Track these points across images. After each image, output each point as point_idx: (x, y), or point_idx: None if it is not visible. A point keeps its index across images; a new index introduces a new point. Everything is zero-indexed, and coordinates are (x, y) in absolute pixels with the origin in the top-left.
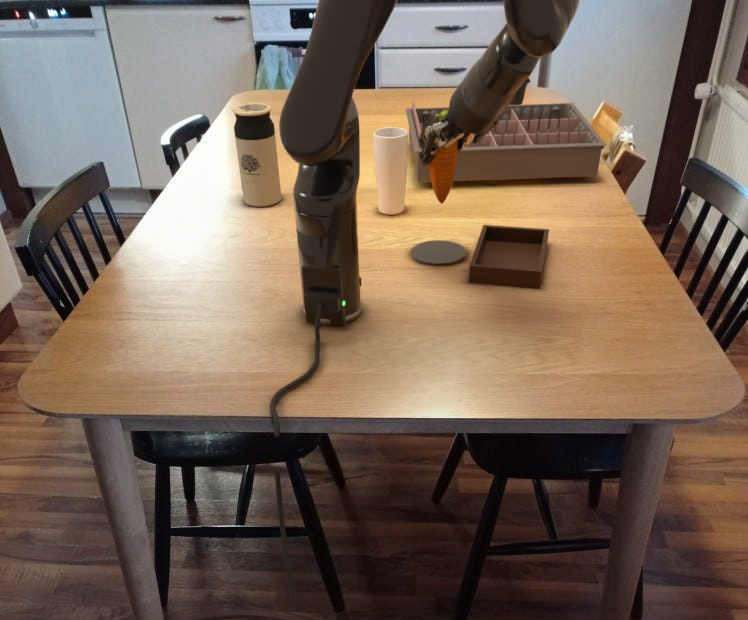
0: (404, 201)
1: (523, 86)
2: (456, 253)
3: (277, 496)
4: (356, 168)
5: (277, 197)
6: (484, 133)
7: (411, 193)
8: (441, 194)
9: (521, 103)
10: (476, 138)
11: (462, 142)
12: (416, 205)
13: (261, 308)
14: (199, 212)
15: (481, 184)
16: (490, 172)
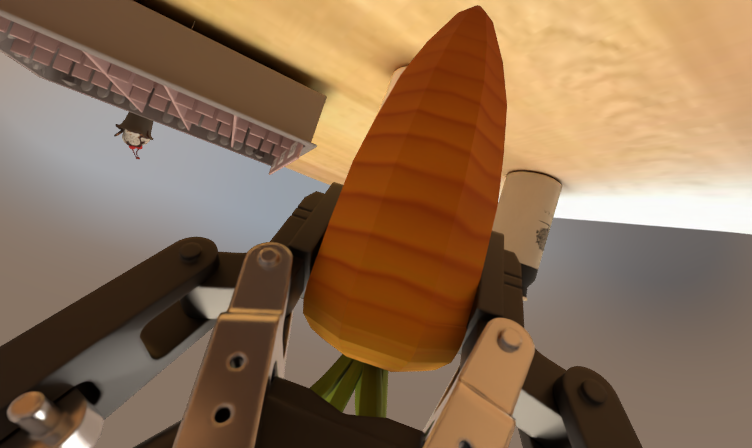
0: (392, 83)
1: (126, 123)
2: None
3: None
4: None
5: (527, 178)
6: (101, 315)
7: (346, 85)
8: (491, 52)
9: None
10: (181, 286)
11: (288, 295)
12: (363, 62)
13: None
14: (618, 207)
15: (213, 32)
16: (189, 43)
